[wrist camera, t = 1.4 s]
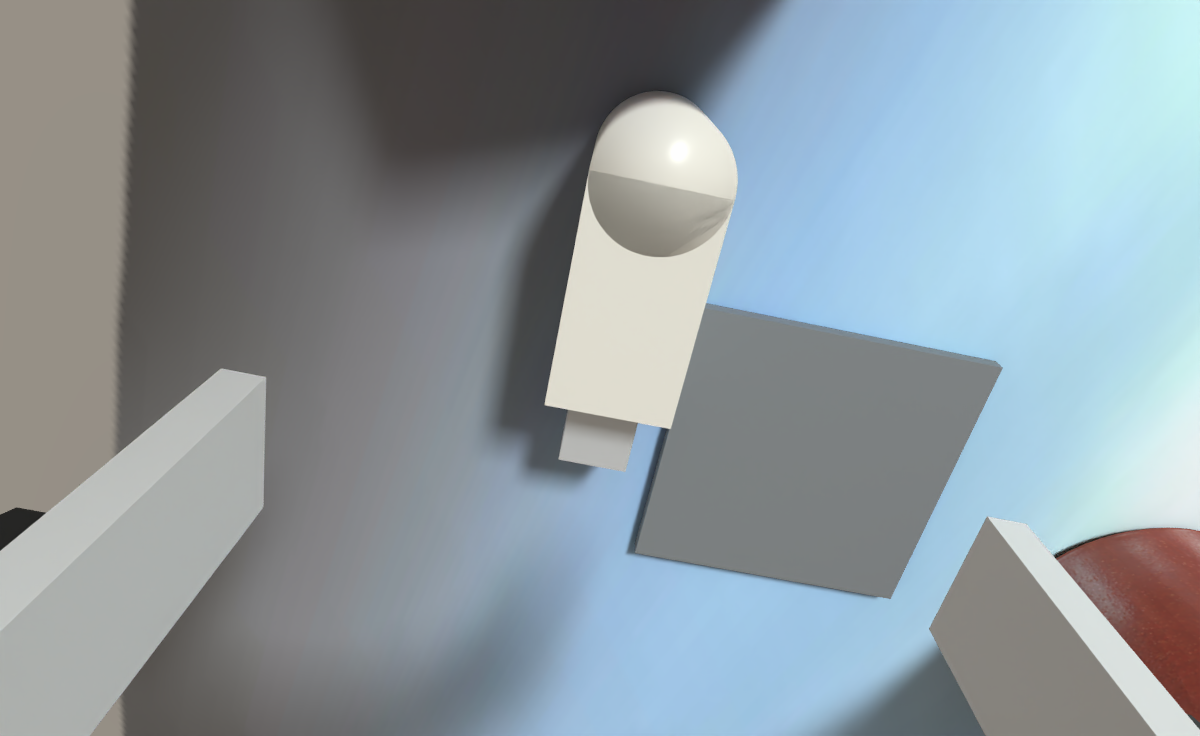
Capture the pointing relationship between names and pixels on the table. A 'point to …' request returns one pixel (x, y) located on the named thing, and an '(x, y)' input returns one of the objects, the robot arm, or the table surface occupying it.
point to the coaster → (808, 451)
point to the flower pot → (1149, 600)
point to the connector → (639, 273)
